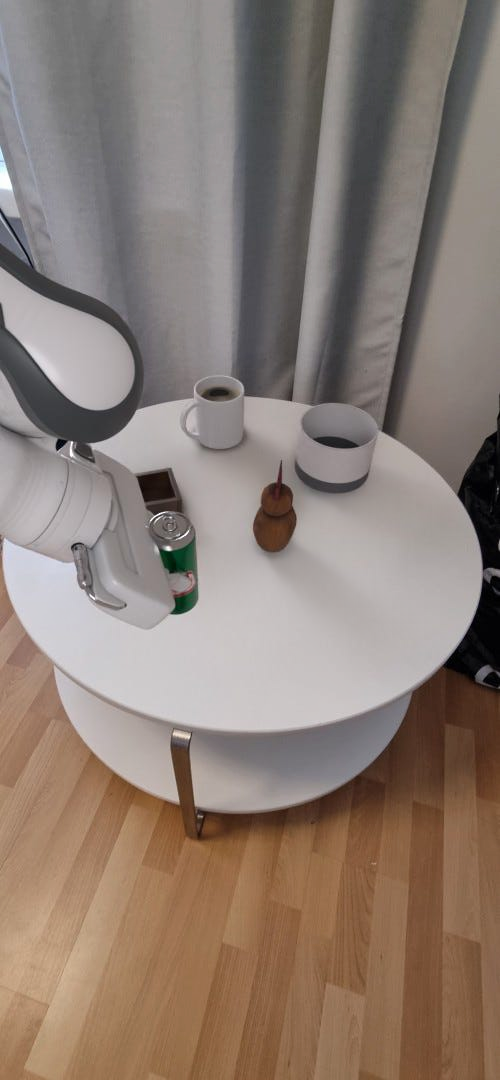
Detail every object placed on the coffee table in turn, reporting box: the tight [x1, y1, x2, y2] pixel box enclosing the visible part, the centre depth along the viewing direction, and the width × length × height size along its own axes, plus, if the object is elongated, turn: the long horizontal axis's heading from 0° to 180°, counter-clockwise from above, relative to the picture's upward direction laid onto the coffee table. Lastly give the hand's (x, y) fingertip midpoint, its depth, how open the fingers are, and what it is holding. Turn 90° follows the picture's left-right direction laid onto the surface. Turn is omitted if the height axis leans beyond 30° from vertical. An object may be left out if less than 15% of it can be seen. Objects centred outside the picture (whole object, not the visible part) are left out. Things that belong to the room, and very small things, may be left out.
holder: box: [133, 467, 184, 516], centre depth 94 cm, size 15×8×4 cm, turn 107°
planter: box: [294, 402, 380, 494], centre depth 99 cm, size 13×13×10 cm
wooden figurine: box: [252, 459, 298, 553], centre depth 86 cm, size 7×6×15 cm
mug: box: [179, 374, 245, 450], centre depth 106 cm, size 11×10×10 cm
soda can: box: [148, 511, 199, 616], centre depth 63 cm, size 5×5×12 cm
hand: (178, 560), depth 63 cm, fingers closed on soda can, 5 cm apart
